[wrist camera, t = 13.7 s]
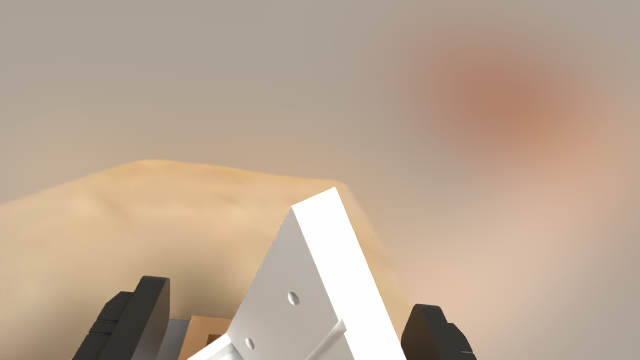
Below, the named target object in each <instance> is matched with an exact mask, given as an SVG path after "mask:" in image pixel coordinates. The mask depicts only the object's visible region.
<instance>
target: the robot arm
mask: <svg viewBox="0 0 640 360" xmlns="http://www.w3.org/2000/svg"><path fill="white" fill-rule="evenodd" d="M169 313H170V279H169V278H164V277H154V276H143V277H142V278H141V280H140V282H139V284H138V285H137V287H136V289H135V291H134V292H124V291H121V292H120V293H118V294H117V295H116V296H115V297H113V298H112V299H111V300H110V301H109V302H107V303H106V304H105V306H104V308H103V309H102V311H101V313H100V314H99V316H98V318H97V321H96V322H95V323H94V324H93V326H92V328H91V329H90V331H89V334H88V335H87V336H86V338H85V339H84V341H83V342H82V344H81V346H80V347H79V349H78V351H77V352H76V354H75V356H74V357H73V359H72V360H156V357H157V355H158V352H159V349H160V347H161V344H162V341H163V339H164V336H165V333H166V330H167V326H168V321H169ZM401 348H402V350H403V353H404V355H405V358H406V360H477V359H476V357H475V355H474V354H473V351H472V349H471V347H470V345H469V343H468V341H467V339H466V337H465V336H464V334H463V333H462V332H461V331H460V330H459V329H458V328H457V327H456V326H455V325H454V324H453V323H447V320H446V318H445V316H444V314H443V312H442V310H441V308H440V307H439V306H435V305H434V306H433V305H425V304H424V305H423V304H415V305H414V307H413V309H412V312H411V314H410V317H409V319H408V322H407V324H406V326H405V329H404V331H403V334H402V338H401Z"/></svg>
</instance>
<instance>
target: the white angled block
mask: <svg viewBox="0 0 640 360" xmlns="http://www.w3.org/2000/svg"><path fill="white" fill-rule="evenodd" d="M187 360H406V358H405V355H404V353H403V350H402V348H401V345H400V343H399V341H398V338H397V336H396V333H395V331H394V328H393V326H392V324H391V321H390V319H389V316H388V314H387V312H386V309H385V307H384V304H383V302H382V299H381V297H380V295H379V292H378V290H377V287H376V285H375V282H374V280H373V278H372V275H371V273H370V270H369V268H368V265H367V263H366V261H365V258H364V256H363V253H362V251H361V249H360V246H359V244H358V241H357V239H356V236H355V234H354V232H353V229H352V227H351V224H350V222H349V219H348V217H347V215H346V212H345V210H344V207H343V205H342V202H341V200H340V198H339V195H338V193H337V190H336V188H335V187H334V188H332V189H329V190H327V191H325V192H323V193H320V194H318V195H316V196H314V197H311V198H309V199H307V200H304V201H302V202H300V203H298V204H295V205H293V206H292V207H291V208H290V210H289V212H288V214H287V216H286V218H285V220H284V222H283V224H282V226H281V228H280V230H279V232H278V233H277V235H276V237H275V239H274V241H273V243H272V245H271V247H270V249H269V251H268V253H267V255H266V257H265V258H264V260H263V262H262V264H261V266H260V268H259V270H258V272H257V274H256V276H255V278H254V280H253V282H252V284H251V285H250V287H249V289H248V291H247V293H246V295H245V297H244V299H243V301H242V303H241V305H240V307H239V309H238V310H237V312H236V314H235V316H234V318H233V320H232V322H231V324H230V326H229V328H228V330H227V332H226V334H224V335H223V336H221V337H220V338H218V339H217V340H215V341H214V342H212V343H211V344H209V345H208V346H206V347H205V348H203V349H202V350H200V351H199V352H198V353H196V354H195V355H193V356H192V357H190V358H189V359H187Z"/></svg>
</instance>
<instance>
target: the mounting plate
mask: <svg viewBox="0 0 640 360" xmlns="http://www.w3.org/2000/svg"><path fill="white" fill-rule="evenodd" d="M232 320H233V319H228V318H216V317H205V316H194V315H192V317H191V320H190V321H187V320H176V319H169V321H168V326H167V330H166V333H165V336H164V339H163V341H162V344H161V347H160V349H159V352H158V355H157V357H156V360H187V359H189V358H190V357H192V356H193V355H195V354H196V353H198V352H199V351H200V350H202V349H203V348H205V347H206V346H208V345H209V344H211V343H212V342H214V341H215V340H217V339H218V338H220V337H221V336H223V335H224V334H226V332H227V330H228V328H229V326H230V324H231V322H232Z"/></svg>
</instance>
